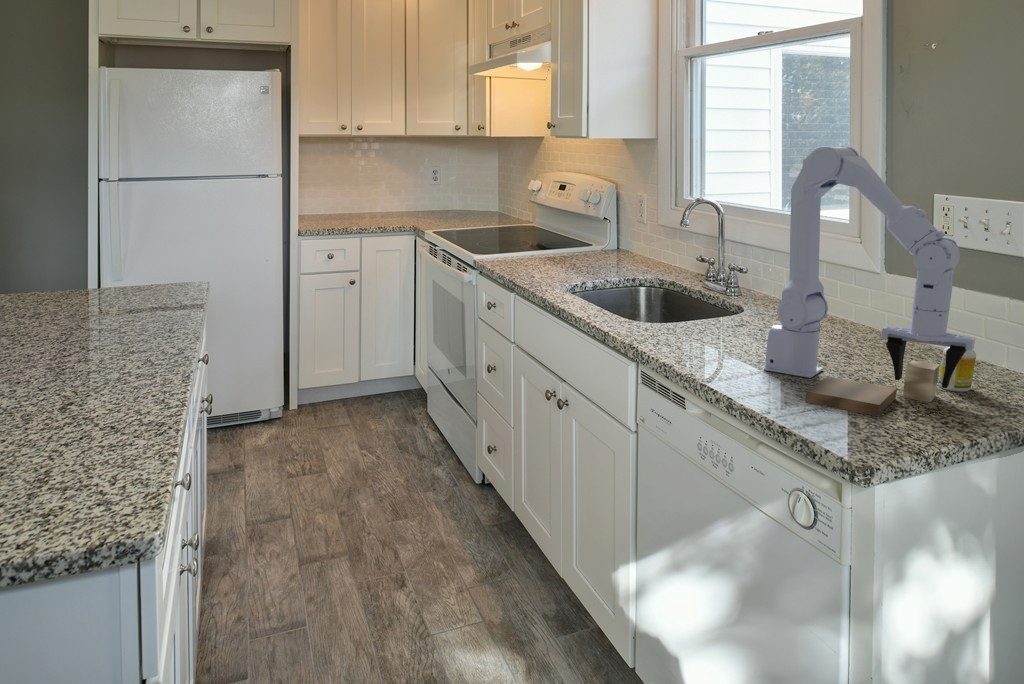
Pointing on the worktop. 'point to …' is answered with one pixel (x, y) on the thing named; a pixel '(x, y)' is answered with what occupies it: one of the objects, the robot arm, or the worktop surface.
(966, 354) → the supplement bottle
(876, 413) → the walnut plinth
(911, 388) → the beech block
